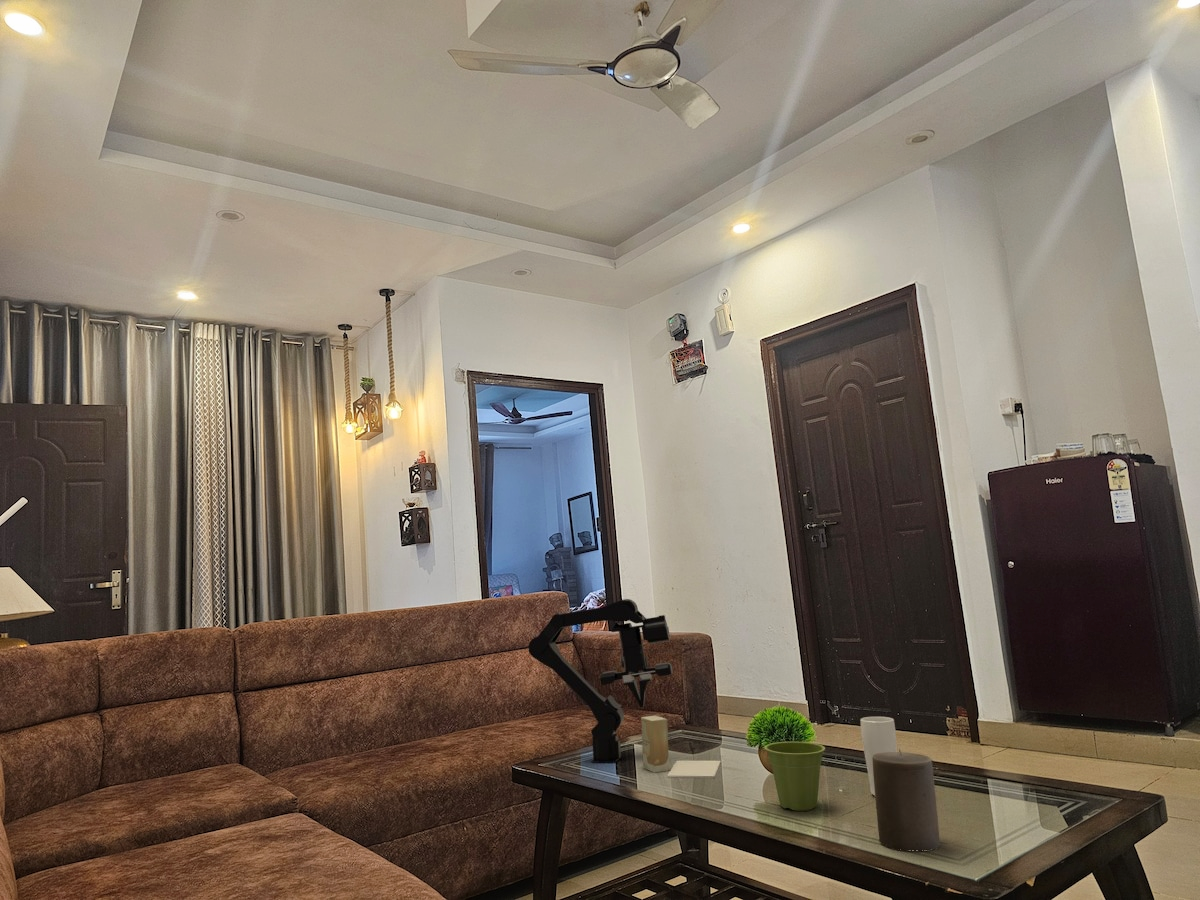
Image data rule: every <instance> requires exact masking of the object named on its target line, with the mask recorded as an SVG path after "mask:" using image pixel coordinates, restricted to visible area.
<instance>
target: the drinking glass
mask: <svg viewBox="0 0 1200 900" xmlns="http://www.w3.org/2000/svg"><path fill="white" fill-rule="evenodd" d="M859 720H860V733H861V741H862V747H863V753H864V757H865V765H866V768H867V775H868V781H869V788H870V794H871V795H872V794H873V795H875V787H874V775H873V760H872V757H873V755H874V754H877V753H883V752H898V747H897V732H896V731H897V730H896V725H895V719H894V718H892V717H887V716H866V717H862V718H860V719H859ZM873 795H872V796H873Z"/></svg>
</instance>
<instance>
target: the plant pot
mask: <svg viewBox="0 0 1200 900" xmlns="http://www.w3.org/2000/svg"><path fill="white" fill-rule="evenodd" d="M764 750H765V751H767V757H768V758H769V760H768V761H769V762H770V764H771V769H772V774H773V778H774V779H773V780H774V782H775V784H774V785H775V788H776V793H777V797H778V802H779V806H780V807H782V808H783V809H787V808H788V809H790V810H792V811H795V812H796V811H797V812H798V811H799V812H801V811H804V812H805V811H811V810H813V809H815V808H817V807H818V802H819V801H818V800H819V789H820V788H819V787H820V778H821V777H820V775H821V764H822V763H823V762H822V761H823V753H824V752H825V751H826V747H825V746H824V745H822V744H819V743H814V742H807V741H780V742H779V741H778V742H772V743H768V744H766V745H765V746H764Z"/></svg>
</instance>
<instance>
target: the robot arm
mask: <svg viewBox="0 0 1200 900" xmlns="http://www.w3.org/2000/svg"><path fill="white" fill-rule="evenodd" d="M605 621H606V622H615V623H614V625H613V627H612V628H611V630H610V631H611V632H612V633H614V632H618V634H619V640H620V646H621V653H622V656H620V663H621V668H622V670H624V671H620V672H618V670H617V669H615V670H609V671H604V672H602V673H601V675H600V677H599V678H600V684H601V686H604V685H610V684H614V682H615V681H618V680H622V682H623V683H622V685H623V686H627V687H628V689H629V691H631V693H632V695H633V696H634V699H635V700H636V702H637V704H638V705H639V707H640V708H644V706H645V698H646V691H647V687H648V683H649V682H651V681H652V680H653V676H652V675H657V676H659V677H663V676H670V675H672V674H673V672H674V671H673V665H672V663H670V661H666V662H660V663H656V664H655V665H654V667H652V666H651V667H649V666H648V661H647V656H646V655H645V652H644V645H643V641H644V642H646V641H647V643H648V645H649V644H651V645H652V644H656V643H662V642H663V643H664V642H670V641H671V636H670V628H669V626H668V623H667V620H666V615H664V614H663V615H658V616H656V617H655V616H654V617H650V618H649V617H648V618H647V617H645V615H644V614H642V613H641V612H640V611H639V610H638V605H637V603H636V602H635V601H634V600H632V599H629V598H624V599H621V600H618V601H615V602H611V603H608V604H606V605H603V606H601V607H596V608H595V607H594V608H589V609H582V610H577V611H570V612H564V613H563V612H562V613H561V612H559V613H555V614H553V615H552V616H551V619H550V620H549V622H548V623H547V624H545V627H544V628H543V629H542V630H541V631H540V633H539V634H538V635H537V636H535V637H533V638H532V639H531V640H530V641H529V643H528V653H529V655H530V656H531V657H533V658H534V659H536V660H537V661H538V662H540V663H541V664H542V665H545V666H546V667H548V668H550V669H551V670H552V671H553V672H555V674H556V675H557V676H558V677H560V679H561V680H562V681H563V682H565V684H566V685H567V686H569V687H570V689H571V690H572V691H573V692H574V693H575V694H576V695H577V696H578V697H579V698H580V699H581V700H582V701H583V702H584V703H585V705H587V706H588V707H589V709H590V712H591V713H592V715H593V717H594V719H595V720H596V721H597V723H596V724H595V725H594V726H593V727H592V729H591V735H592V738H591V739H592V740H591V741H592V759H591V762H592V761H601V762H600V763H616V762H617V761H619V759H621V757H622V750H621V740H620V739H619V734H618V733H617V731H618V729H619V727H621V725H622V724H623V722H624V719H625V713H624V710H623V708H621V707H622V706H623V705H622V704H620V703H618V702H617V701H616V700H615V698H614V697H613V696H612V695H611V694H610V695H608V697H605V696H603V695H602V694H600V693H599V692H598V690H596V689H595V688H594V687H593V686H592V685H591V684H590V683H589V682H588V681H587V680H586V679H585V678H584V677H583V676H582V675H581V673H579V672H578V671H577V670H576V669H575V668H574V667H573V666H572V664H571V663H569V662H568V661H567V660H566V658H565V657H564V656H563V654H562V652H561V650H560V649H559V647H558V645H557V644H556V642H557V641H558V639H559V637H560V635H561V633H562V632H563V630H564V629H565V627H572V626H579V625H584V624H590V623H591V624H592V623H596V622H605ZM619 622H625V623H619ZM626 622H627V623H626ZM631 622H632V623H634V624H640V625H633V624H632V623H631ZM641 623H642V624H641ZM642 638H643V640H642ZM638 677H639V680H638V682H639V684H638V682H637V678H638ZM635 678H636V679H635ZM638 685H639V687H638Z"/></svg>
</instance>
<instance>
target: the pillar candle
mask: <svg viewBox="0 0 1200 900" xmlns="http://www.w3.org/2000/svg"><path fill="white" fill-rule="evenodd" d="M872 760H873V775H874V787H875V796H874V798H875V809H876V820H877V821H876V823H877V830H878V841H879V843H880V842H881V843H880V844H881V845H883V846H885V847H887V848H889V847H890V849H892V848H893V849H892V850H895V849H899V850H900V849H901V850H911V851H912V850H914V851H916V850H918V851H922V850H923V851H924V850H931V849H935V850H937V849H938V847H939V848H940V846H941V838H940V830H939V829H940V828H939V819H938V810H937V809H938V807H937V797H936V786H935V779H934V769H933V758H932V757H930V756H928V755H924V754H921V753H914V752H907V751H901V749H900V748H898V751H897V752H883V753H877V754H874V755H873V757H872ZM936 848H937V849H936ZM899 850H898V851H899ZM931 851H932V850H931Z"/></svg>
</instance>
